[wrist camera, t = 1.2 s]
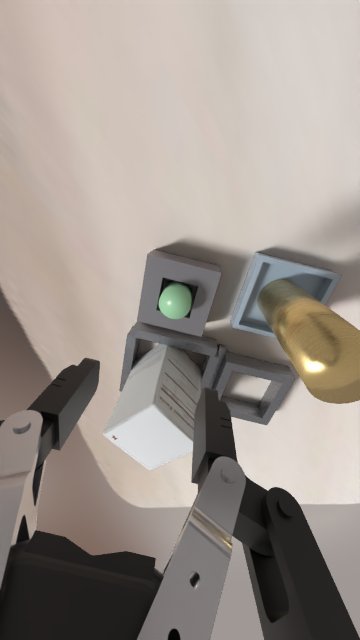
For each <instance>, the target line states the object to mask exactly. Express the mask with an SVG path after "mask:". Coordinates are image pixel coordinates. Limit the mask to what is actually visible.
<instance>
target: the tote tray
mask: <svg viewBox="0 0 360 640" xmlns="http://www.w3.org/2000/svg"><path fill="white" fill-rule="evenodd" d="M340 277H341V275H339V274H337V273H334V272H332V271H329V270H325V269H321V268H317V267H313V266H309V265H305V264H301V263H297V262H293V261H289V260H285V259H281V258H277V257H273V256H269V255H265V254H262V253H258V252H256V253H255V256H254V258H253V261H252V264H251V266H250V269H249V272H248V274H247V277H246V280H245V283H244V285H243V288H242V291H241V293H240V296H239V299H238V301H237V304H236V307H235V309H234V312H233V315H232V317H231V320H230V321H231V325H232V328H236V329H240V330H244V331H248V332H252V333H256V334H260V335H264V336H268V337H272V338H276V336H275V334H274V333H273V331H272V329H271V328H270V326H269V324H268V323H267V321H266V319H265V318H264V316H263V314H262V313H261V311H260V309H259V307H258V304H257V299H258V295H259V293H260V291H261V289H262V288H263V287H264V286H265V285H266V284H268V283H269V282H271V281H273V280H277V279H288V280H291V281H293V282H294V283H295V284H297V285H298V286H300V287H301V288H302V289H304V290H305V291H306V292H308V293H309V294H310V295H312V296H313V297H315V298H316V299H317V300H319V301H320V302H321V303H323V304H324V305H325V304H326V302H327V300H328V298H329V297H330V295H331V293H332V291H333V290H334V288H335V286H336V284H337V283H338V281H339V279H340ZM276 339H277V338H276Z"/></svg>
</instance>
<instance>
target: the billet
mask: <svg viewBox="0 0 360 640" xmlns="http://www.w3.org/2000/svg"><path fill="white" fill-rule="evenodd" d="M257 304H258V307H259V309H260V311H261V313H262V314H263V316H264V318H265V319H266V321H267V323H268V324H269V326H270V328H271V329H272V331H273V333H274V334H275V336H276V338H277V339H278V341H279V342H280V344H281V346H282V347H283V349H284V351H285V352H286V354H287V356H288V357H289V359H290V361H291V362H292V364H293V366H294V367H295V369H296V371H297V372H298V374H299V376H300V377H301V379H302V381H303V382H304V384H305V386H306V387H307V389H308V390H309V392H310V393H311V394H312V395H313V396H314V397H316V398H317V399H319V400H322V401H324V402H328V403H336V404H342V403H350V402H355V401H358V400H360V331H359V330H358V329H357V328H355V327H354V326H353V325H351V324H350V323H349V322H347V321H346V320H345V319H343V318H342V317H340V316H339V315H338V314H336V313H335V312H334V311H332V310H331V309H330V308H328V307H327V306H325V305H324V304H323V303H321V302H320V301H319V300H317V299H316V298H315V297H313V296H312V295H310V294H309V293H308V292H306V291H305V290H304V289H302V288H301V287H300V286H298V285H297V284H295V283H294V282H293V281H291V280H288V279H277V280H273V281H271V282H269V283H268V284H266V285H265V286H264V287H263V288H262V289H261V291H260V293H259V295H258V299H257Z"/></svg>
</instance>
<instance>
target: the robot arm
mask: <svg viewBox="0 0 360 640" xmlns="http://www.w3.org/2000/svg"><path fill="white" fill-rule="evenodd" d="M99 369H100V362H99V361H97V360H93V359H89V358H84V359H83V360H82V362H81V363H80V364H79V365H78V366H76V365H71V366H69V367H67V368H66V369H64V370H62V371H61V373H60V374H59V375H58V376H57V377H56V379H54V380H53V381H52V383H51V384H50V385H49V386H48V387H47V388H46V389H45V390H44V392H43V393H42V394H41V395H40V396H39V397H38V398H37V399H36V400H35V401H34V402H33V404H32V405H31V406H30V407H29V408H28V409H27V410H24V411H20V412H17V413H15V414H13V415H11V416H10V417H8V418H7V419H6V420H2V421H0V640H210V638H211V634H212V629H213V626H214V622H215V617H216V614H217V609H218V606H219V602H220V598H221V594H222V590H223V586H224V582H225V578H226V574H227V570H228V566H229V562H230V558H231V553H232V543H231V538H232V536H234V537H235V538H236V539H238V540H239V541H241V542H242V544H243V548H244V553H245V557H246V562H247V566H248V570H249V574H250V579H251V583H252V588H253V592H254V596H255V600H256V605H257V609H258V614H259V618H260V623H261V627H262V631H263V636H264V640H360V638H359V636H358V634H357V631H356V629H355V627H354V625H353V623H352V620H351V618H350V616H349V614H348V611H347V609H346V607H345V605H344V603H343V600H342V598H341V596H340V594H339V591H338V590H337V587H336V585H335V583H334V580H333V578H332V576H331V574H330V571H329V569H328V567H327V565H326V563H325V560H324V558H323V556H322V554H321V552H320V549H319V547H318V545H317V543H316V540H315V538H314V536H313V534H312V531H311V529H310V527H309V525H308V523H307V520H306V518H305V516H304V514H303V511H302V509H301V507H300V505H299V504H298V502H297V501H296V500H295V498H294V497H293V496H292V495H291V494H290V493H289V492H287V491H286V490H284V489H282V488H278V487H274V488H271V489H270V490H269V491H267V490H266V489H264V488H262V487H261V486H259V485H257V484H256V483H254V482H253V481H251V480H250V479H249V478H247V477H246V475H245V474H244V472H243V470H242V468H241V467H240V465H239V464H238V462H237V457H236V450H235V442H234V435H233V430H232V422H231V414H230V410H229V408H228V406H227V405H226V403H225V402H222V401H219V398H218V391H217V390H215V389H210V388H206V387H204V388H203V390H202V393H201V395H200V398H199V401H198V403H197V406H196V410H195V416H194V436H193V460H192V483H196V484H198V494H197V496H196V499H195V501H194V503H193V505H192V508H191V510H190V512H189V514H188V517H187V519H186V521H185V524H184V525H183V528H182V530H181V532H180V534H179V537H178V539H177V541H176V543H175V546H174V548H173V550H172V552H171V554H170V556H169V558H168V561H167V563H166V565H165V567H164V569H163V572H162V573H161V572H159V571H158V570H157V569H155V568H154V567H155V558H153V557H149V556H145V555H140V554H136V553H132V552H126V551H125V552H118V553H110V554H103V555H95V556H93V555H90V554H88V553H87V552H86V551H84V550H82V549H81V548H80V547H78V546H77V545H76V544H74V543H73V542H71V541H70V540H69V539H67V538H66V537H62V536H58V535H54V534H50V533H45V532H41V531H37V530H36V523H37V510H38V503H39V498H40V492H41V487H42V481H43V475H44V470H45V463H46V457H47V456H48V454H49V453H50V451H51V449H56V450H60V449H61V448H62V446H63V445H64V443H65V441H66V440H67V438H68V436H69V435H70V433H71V431H72V430H73V428H74V426H75V425H76V423H77V421H78V420H79V418H80V417H81V415H82V413H83V412H84V410H85V408H86V407H87V405H88V403H89V402H90V400H91V398H92V397H93V395H94V393H95V392H96V389H97V386H98V381H99Z"/></svg>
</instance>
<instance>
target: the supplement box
mask: <svg viewBox="0 0 360 640" xmlns="http://www.w3.org/2000/svg"><path fill="white" fill-rule="evenodd" d="M200 395H201V369H200V368H199V367H198V366H197V365H196V364H195V363H194V362H193V361H192V360H191V359H190V357H189V356H188V355H187V354H186V353H185V352H184V351H183V350H182V349H180V348H176V347H172V346H168V345H164V344H159V345H157V346H156V347H154V348H153V349H152V350H150V351H149V352H147V353H146V354H144V355H143V356H142V357H140V358H139V359H137V360H136V361H135V363H134V366H133V368H132V370H131V372H130V374H129V377H128V379H127V381H126V383H125V386H124V388H123V390H122V392H121V394H120V397H119V399H118V401H117V403H116V406H115V408H114V410H113V412H112V414H111V417H110V419H109V421H108V423H107V425H106V428H105V430H104V432H103V434H104V435H105V436H106V437H107V438H108V439H109V440H110V441H112V442H113V443H114V444H115V445H117V446H118V447H119V448H121V449H122V450H123V451H125V452H126V453H127V454H129V455H130V456H131V457H132V458H134V459H135V460H136V461H138V462H139V463H140V464H142V465H143V466H144V467H145V468H147V469H148V470H153V469H155V468H157V467H160V466H162V465H164V464H166V463H169V462H171V461H173V460H175V459H178V458H180V457H182V456H184V455H187V454H189V453H191V452H193V436H194V416H195V410H196V406H197V403H198V401H199V398H200Z"/></svg>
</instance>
